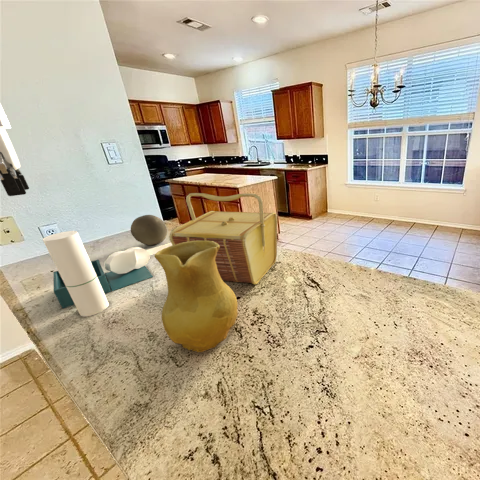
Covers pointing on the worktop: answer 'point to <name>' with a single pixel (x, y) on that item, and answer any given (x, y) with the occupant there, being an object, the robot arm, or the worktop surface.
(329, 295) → the worktop surface
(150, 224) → the cantaloupe
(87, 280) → the cylindrical container
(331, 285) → the worktop surface
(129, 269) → the white long scooped piece
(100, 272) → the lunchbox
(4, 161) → the robot arm
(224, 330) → the pitcher
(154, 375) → the worktop surface
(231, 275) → the picnic basket
